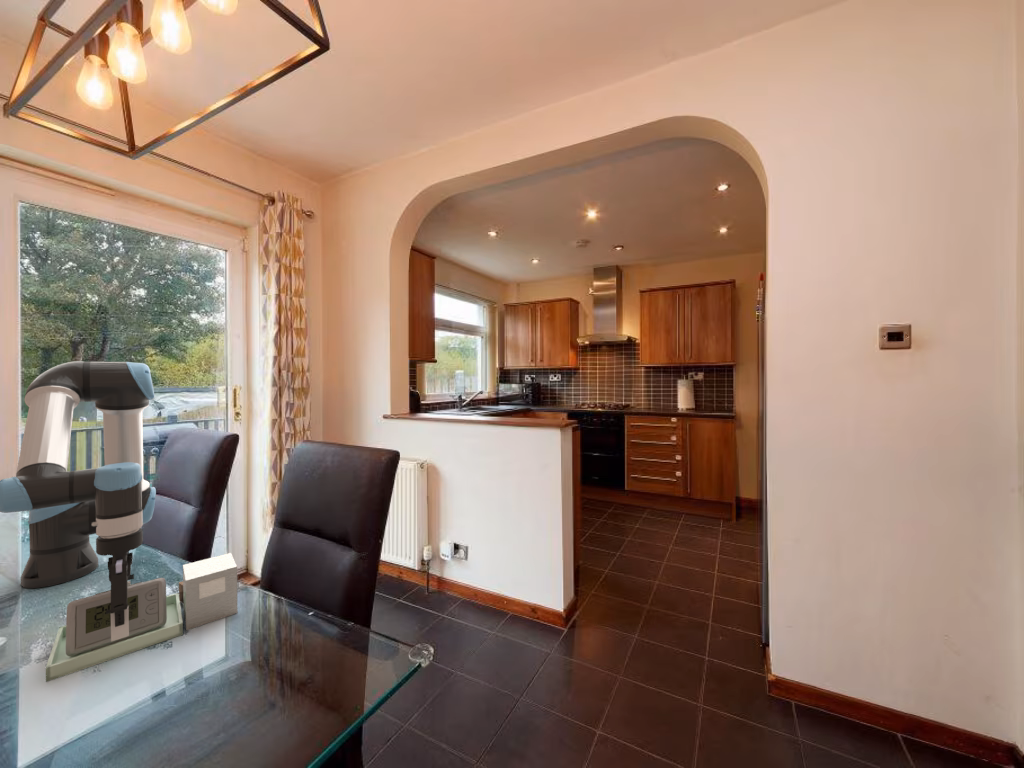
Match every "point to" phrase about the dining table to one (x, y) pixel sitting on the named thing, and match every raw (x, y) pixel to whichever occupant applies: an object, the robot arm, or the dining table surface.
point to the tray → (66, 664)
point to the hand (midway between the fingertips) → (121, 623)
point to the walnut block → (181, 591)
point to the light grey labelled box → (209, 590)
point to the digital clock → (93, 625)
